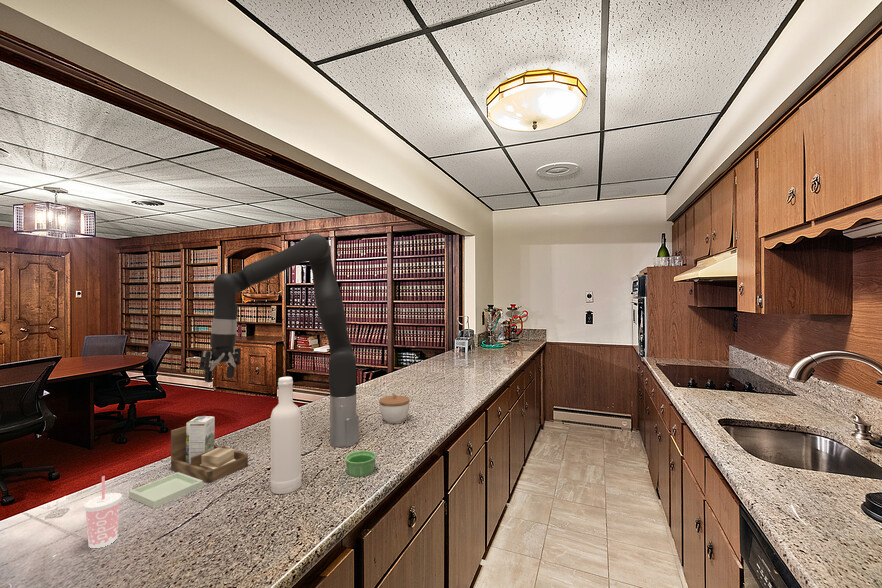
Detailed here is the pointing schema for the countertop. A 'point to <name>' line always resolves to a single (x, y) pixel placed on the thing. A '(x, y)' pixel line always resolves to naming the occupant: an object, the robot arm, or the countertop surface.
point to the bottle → (285, 441)
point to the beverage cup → (102, 518)
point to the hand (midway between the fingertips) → (219, 380)
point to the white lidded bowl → (394, 408)
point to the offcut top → (217, 457)
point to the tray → (165, 489)
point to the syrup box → (199, 436)
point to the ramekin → (360, 463)
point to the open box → (194, 468)
